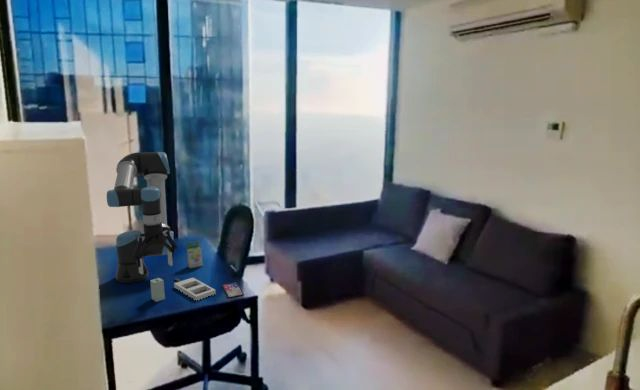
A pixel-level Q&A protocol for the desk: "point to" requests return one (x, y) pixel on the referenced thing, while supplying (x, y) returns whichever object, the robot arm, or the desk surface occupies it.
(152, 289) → the block
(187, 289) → the white compartment tray
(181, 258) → the desk surface
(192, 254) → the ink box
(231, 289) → the smartphone
